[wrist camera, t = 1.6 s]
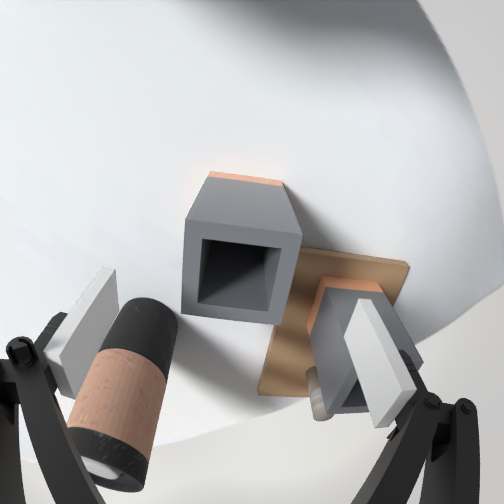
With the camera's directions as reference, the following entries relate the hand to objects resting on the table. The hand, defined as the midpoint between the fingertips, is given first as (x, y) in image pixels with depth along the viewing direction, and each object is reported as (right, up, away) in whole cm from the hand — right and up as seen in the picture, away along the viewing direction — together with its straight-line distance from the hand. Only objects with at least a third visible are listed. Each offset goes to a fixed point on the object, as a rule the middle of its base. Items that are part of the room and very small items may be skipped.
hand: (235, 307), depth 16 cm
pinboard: (+10, -7, +20) cm, 23 cm away
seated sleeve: (+10, -3, +16) cm, 20 cm away
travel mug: (-11, -5, +19) cm, 23 cm away
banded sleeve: (0, +7, +13) cm, 14 cm away
